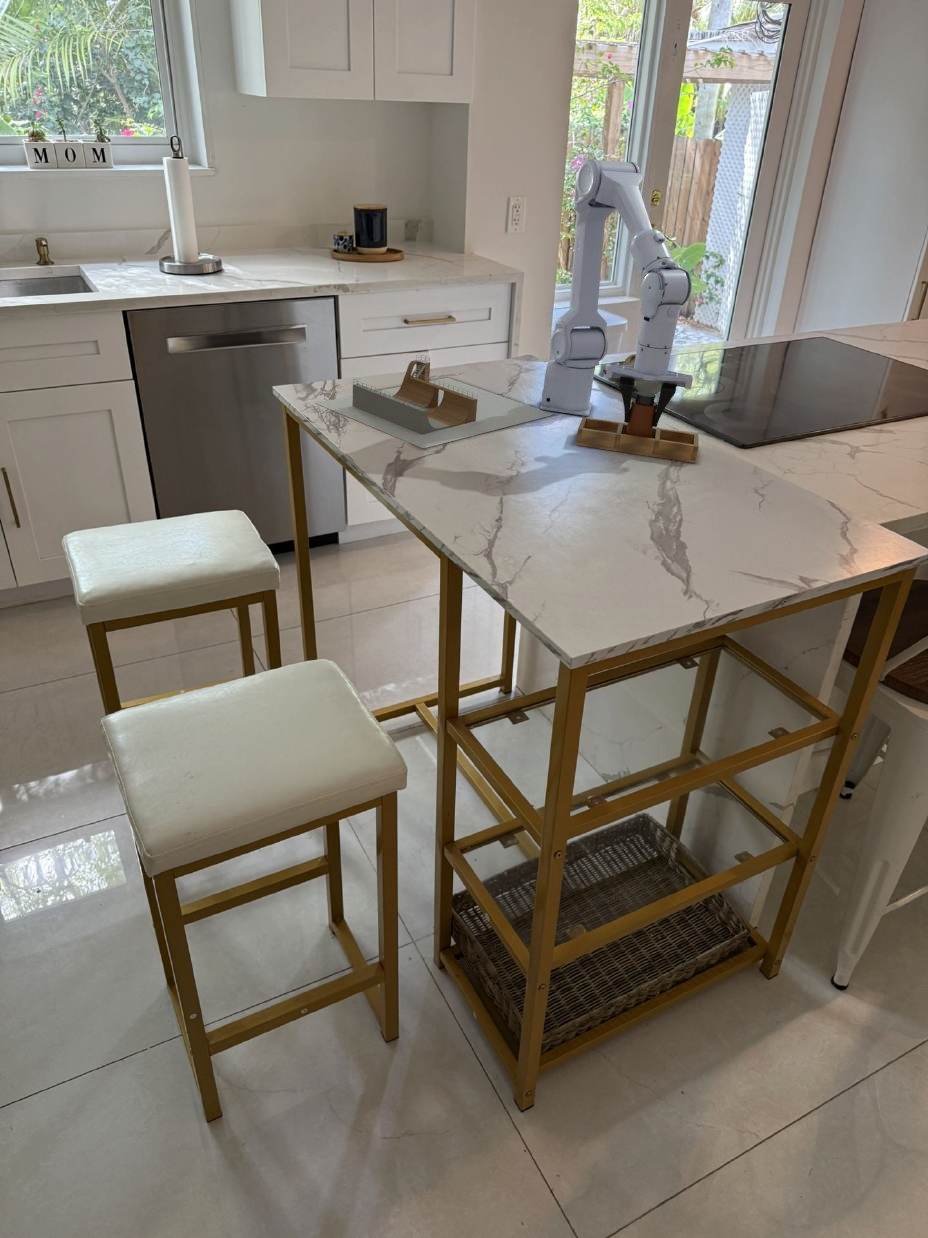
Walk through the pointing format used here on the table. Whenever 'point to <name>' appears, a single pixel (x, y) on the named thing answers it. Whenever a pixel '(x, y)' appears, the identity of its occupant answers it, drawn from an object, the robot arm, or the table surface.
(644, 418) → the spice bottle
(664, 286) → the robot arm
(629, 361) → the ceramic sculpture
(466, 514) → the table surface
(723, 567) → the table surface
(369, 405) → the skate ramp
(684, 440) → the spice tray
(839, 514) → the table surface
